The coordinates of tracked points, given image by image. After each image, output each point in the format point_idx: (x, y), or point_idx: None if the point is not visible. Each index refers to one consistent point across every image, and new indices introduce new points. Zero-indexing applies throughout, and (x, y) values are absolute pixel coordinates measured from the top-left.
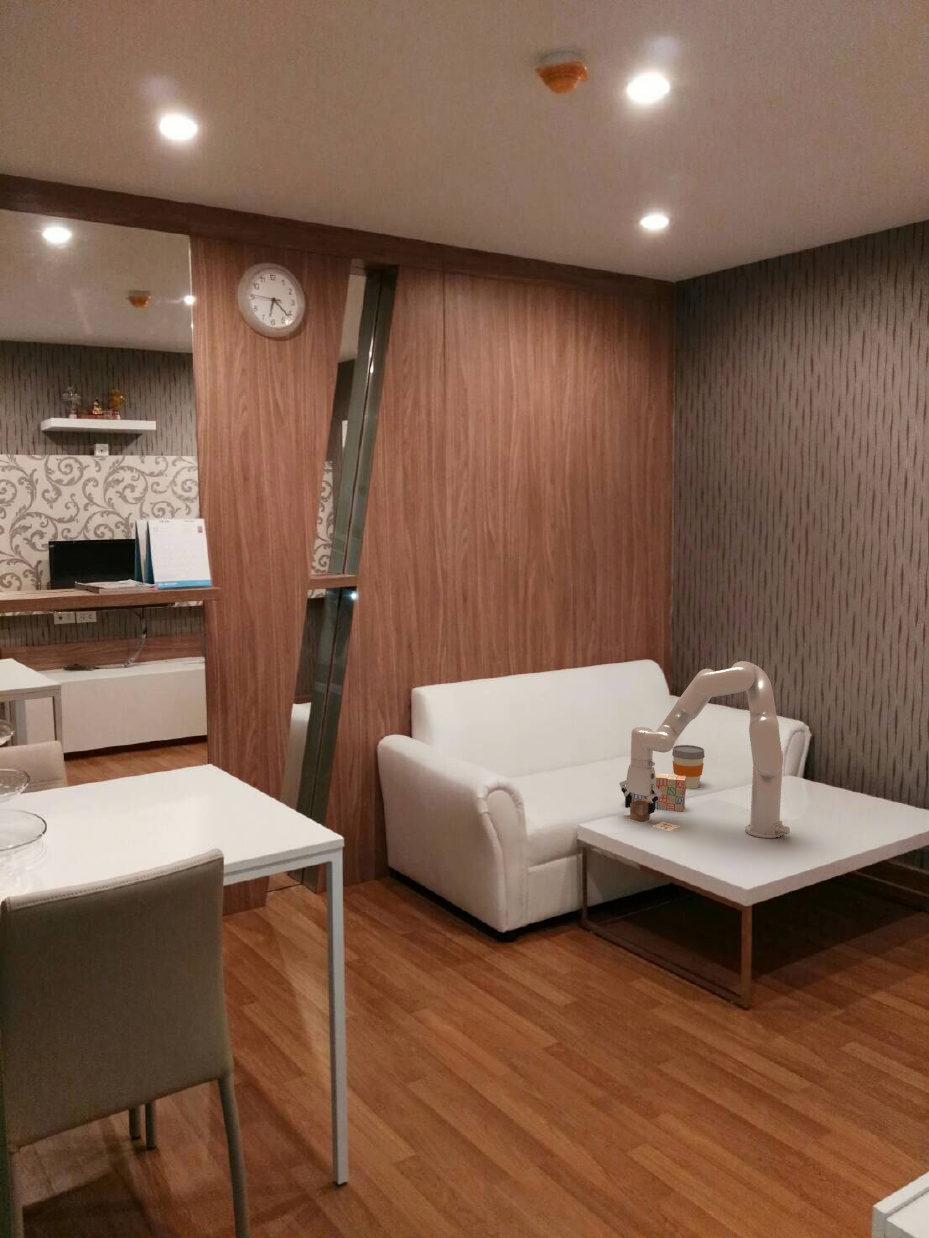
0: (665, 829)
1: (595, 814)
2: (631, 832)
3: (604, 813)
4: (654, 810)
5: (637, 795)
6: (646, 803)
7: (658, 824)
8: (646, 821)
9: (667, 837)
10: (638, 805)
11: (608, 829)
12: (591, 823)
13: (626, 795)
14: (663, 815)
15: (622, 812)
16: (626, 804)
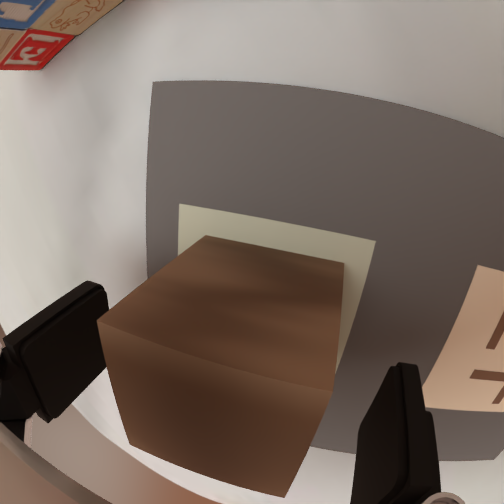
0: (499, 405)
1: None
2: (321, 488)
3: (47, 287)
4: (426, 414)
5: (17, 3)
6: (289, 435)
7: (452, 351)
8: (341, 337)
9: (497, 464)
10: (233, 476)
11: (214, 480)
12: (120, 435)
13: (28, 423)
14: (398, 36)
15: (80, 203)
16: (93, 375)
